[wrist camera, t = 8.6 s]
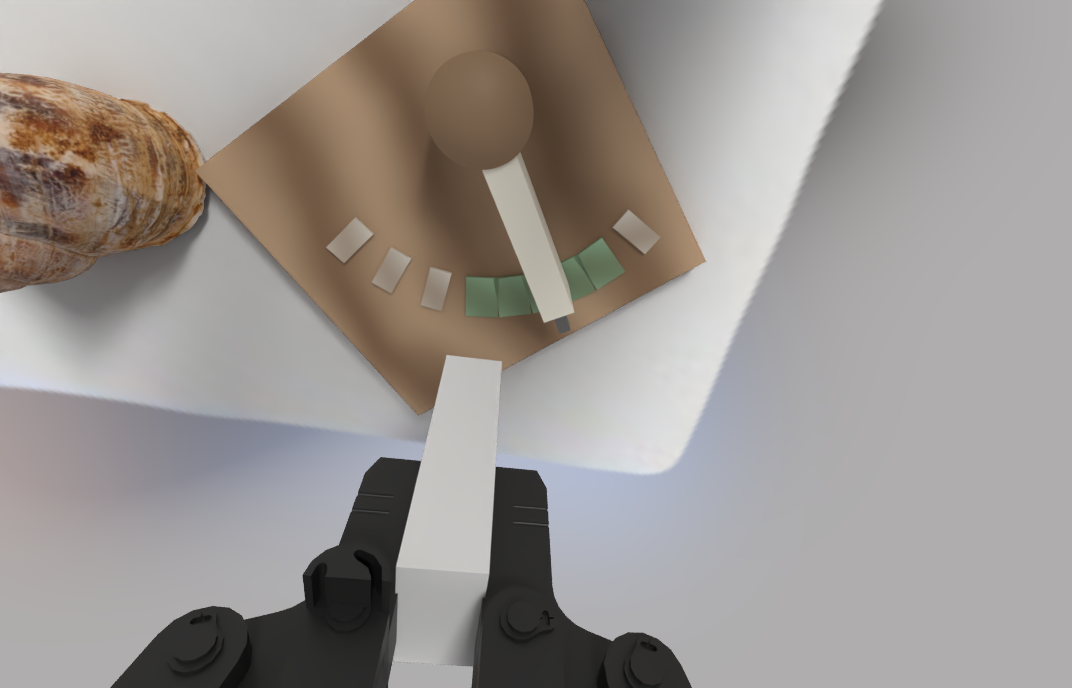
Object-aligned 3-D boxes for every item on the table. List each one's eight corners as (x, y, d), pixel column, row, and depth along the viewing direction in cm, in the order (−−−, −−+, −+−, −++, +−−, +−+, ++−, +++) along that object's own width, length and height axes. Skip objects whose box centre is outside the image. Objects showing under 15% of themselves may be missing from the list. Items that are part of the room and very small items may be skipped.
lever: (421, 73, 24) (405, 77, 20) (511, 34, 23) (510, 32, 20) (524, 314, 30) (525, 349, 27) (597, 289, 29) (607, 321, 26)
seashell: (167, 315, 30) (-89, 343, 21) (84, 215, 32) (-187, 201, 23) (233, 163, 26) (-52, 116, 17) (133, 57, 28) (-173, -37, 19)
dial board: (538, -90, 22) (539, -98, 21) (699, 253, 30) (707, 262, 29) (207, 165, 27) (192, 171, 26) (421, 404, 35) (417, 417, 33)
